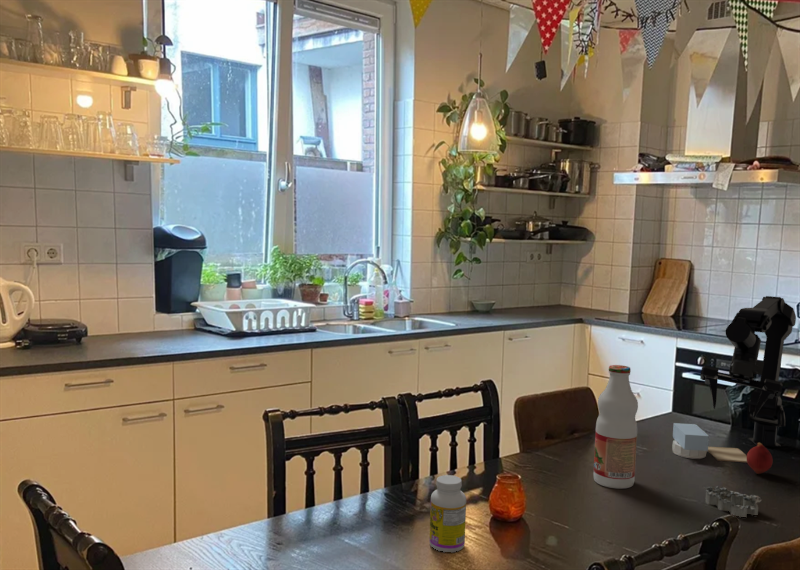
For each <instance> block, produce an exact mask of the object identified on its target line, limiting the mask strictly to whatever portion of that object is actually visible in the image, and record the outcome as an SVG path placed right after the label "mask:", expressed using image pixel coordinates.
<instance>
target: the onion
mask: <svg viewBox="0 0 800 570" xmlns="http://www.w3.org/2000/svg"><path fill="white" fill-rule="evenodd" d="M746 455H747V462H746V463H747V465H748V466H749V468H750V469H752V471H754V473H756V474H758V475H761V474H763V473H765V472H767V471H769V470H770V469H771V467H772V465H773V460H774V459H773V456H772V454H771V452H770V451H769V449H768V448H767V447H766V446H763V445H762V444H761V443H757V445H756V446H753V447H751V448H750V449H749V451H748V452H747V453H746Z"/></svg>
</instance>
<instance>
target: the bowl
mask: <svg viewBox="0 0 800 570" xmlns="http://www.w3.org/2000/svg"><path fill="white" fill-rule="evenodd" d="M671 447H672V448H671V449H672V454H674V455H676V456H678V457H681V458H686V459H693V460H700V459H701V460H702V459H706V457H707V453H708V451H702V450H685V449H683V447H682V446H681V445H680V444H679V443H678V442H677V441H676V440H675V439H674V440H673V441H672V446H671Z"/></svg>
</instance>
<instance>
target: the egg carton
mask: <svg viewBox="0 0 800 570" xmlns="http://www.w3.org/2000/svg"><path fill="white" fill-rule="evenodd" d="M702 488H703V489H704V490H705V499H704V500H705V504H707V505H708V506H709V505H711V506H716V507H717V510H719V511H723V512H728V511H729V512H728V513H730V515H731V514H733V515H736V516H739V517H738V518H741V517H746V518H747V514H752V515H751V516H753V515H758V514H759V505H758V504H759V503H760V502H762V501H763V498H762V497H760V496H759V495H755V494H750V495H748V494H746V493H744V494H743V493H740V492H738V491H734V490H728V488H727V487H725V486H721V487H720V486H719V485H716V486H708V487H705V486H702Z"/></svg>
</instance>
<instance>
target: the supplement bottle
mask: <svg viewBox="0 0 800 570" xmlns="http://www.w3.org/2000/svg"><path fill="white" fill-rule="evenodd" d="M435 483H436V484H435V485H436V488H437V489H435V490H434V491H432V493H431V496H430V507H429V509H430V511H429V512H430V513H429V514H430V515H429V536H428V539H429V545H430V547H431V548H432V547H433V548H434V549H433V548H432V549H433V550H435V549H436V551H437V550H438V551H437V552H440V551H443V552H442V553H445V552H451V553H456V551H457V552H459V551H461V550H463V548H464V547H465V543H466V519H467V518H466V517H467V516H466V515H467V496H466V494H465V493H464V492H463V491H462V490H461V488H462V486H463V485H462V483H463V482H462V478H461V477H459V476H456V475H452V474H451V475H450V474H444V475H440V476H437V478H436V482H435Z"/></svg>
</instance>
